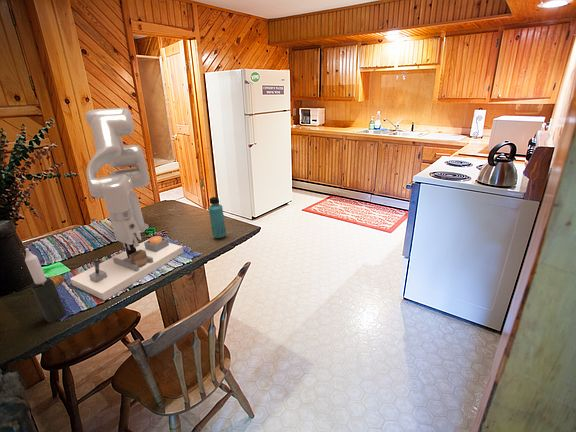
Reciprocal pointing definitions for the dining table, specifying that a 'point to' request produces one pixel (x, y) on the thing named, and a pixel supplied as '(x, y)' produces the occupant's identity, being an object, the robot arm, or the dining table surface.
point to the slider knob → (138, 258)
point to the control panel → (124, 269)
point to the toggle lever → (97, 265)
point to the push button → (155, 240)
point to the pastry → (57, 279)
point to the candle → (44, 290)
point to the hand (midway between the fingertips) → (132, 256)
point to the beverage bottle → (217, 218)
